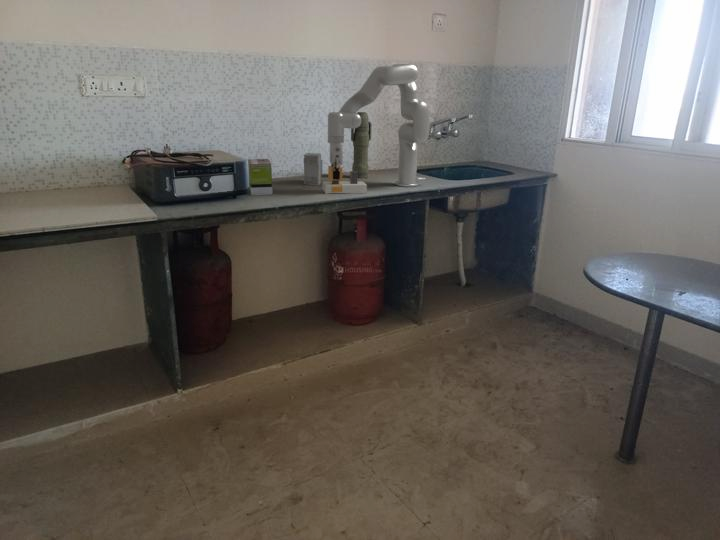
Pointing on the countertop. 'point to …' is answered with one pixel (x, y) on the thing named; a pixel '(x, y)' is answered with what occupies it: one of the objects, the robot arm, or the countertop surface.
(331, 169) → the orange cube
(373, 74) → the robot arm
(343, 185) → the breaker panel
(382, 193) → the countertop surface
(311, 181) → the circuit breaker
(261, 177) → the tea box
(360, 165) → the thermos
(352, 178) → the plain toggle
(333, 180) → the tagged toggle
